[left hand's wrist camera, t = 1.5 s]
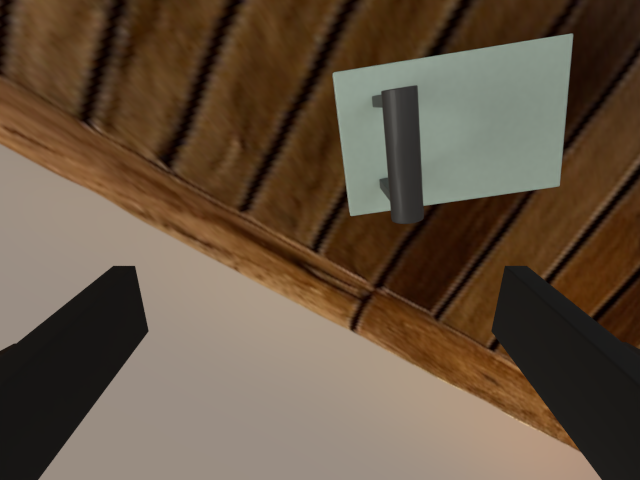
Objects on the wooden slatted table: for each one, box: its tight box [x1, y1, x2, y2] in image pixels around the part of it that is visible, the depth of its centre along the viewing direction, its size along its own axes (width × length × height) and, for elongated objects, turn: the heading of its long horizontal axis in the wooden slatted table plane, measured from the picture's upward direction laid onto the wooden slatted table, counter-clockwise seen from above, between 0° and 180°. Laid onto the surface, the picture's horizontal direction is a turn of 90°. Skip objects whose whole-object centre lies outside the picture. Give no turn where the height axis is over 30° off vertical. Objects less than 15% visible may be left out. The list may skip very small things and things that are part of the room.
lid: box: [333, 34, 573, 224], centre depth 21 cm, size 15×10×9 cm, turn 98°
